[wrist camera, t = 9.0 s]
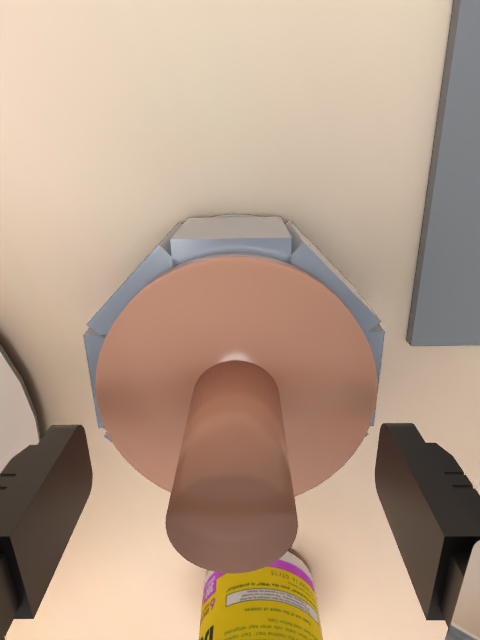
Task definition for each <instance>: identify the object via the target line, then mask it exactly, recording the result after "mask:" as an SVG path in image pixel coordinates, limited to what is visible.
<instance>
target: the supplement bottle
mask: <svg viewBox="0 0 480 640" xmlns="http://www.w3.org/2000/svg"><path fill="white" fill-rule="evenodd" d="M199 640H323V638H322V631H321V625H320V618H319V611H318V605H317V599H316V593H315V587H314V582H313V578H312V575H311V573H310V571H309V570H308V568H307V567H306V565H305V564H304V563H303V562H302V561H301V560H300V559H299V558H298V557H296V556H295V555H293V554H292V553H290V552H288V551H287V552H286V553H285V554H284V555H283V556H282V557H281V558H280V559H279V560H277V561H276V562H274V563H272V564H271V565H269V566H267V567H264V568H262V569H259V570H255V571H252V572H246V573H235V574H231V573H220V572H214V571H210V570H209V571H208V574H207V576H206V579H205V583H204V592H203V600H202V611H201V621H200V633H199Z"/></svg>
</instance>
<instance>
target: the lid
mask: <svg viewBox="0 0 480 640" xmlns="http://www.w3.org/2000/svg"><path fill="white" fill-rule="evenodd" d="M377 381H378V380H377V372H376V365H375V361H374V357H373V354H372V350H371V347H370V345H369V343H368V341H367V339H366V336H365V334H364V332H363V330H362V329H361V327H360V326H359V324H358V323H357V321H356V320H355V318H354V317H353V315H352V314H351V312H350V311H349V309H348V308H347V306H346V305H345V303H344V302H343V301H342V300H341V299H340V298H339V296H338V295H337V294H336V293H335V292H334V291H333V290H332V289H331V288H330V287H328V286H327V285H326V284H325V283H324V282H322V281H321V280H320V279H319V278H317V277H315V276H314V275H312V274H311V273H309V272H308V271H306V270H304V269H302V268H300V267H298V266H296V265H293V264H291V263H289V262H286V261H283V260H280V259H277V258H273V257H270V256H265V255H259V254H253V253H221V254H212V255H207V256H203V257H199V258H194V259H192V260H189V261H186V262H184V263H181V264H178V265H176V266H174V267H172V268H170V269H168V270H167V271H165V272H163V273H161V274H160V275H158V276H157V277H155V278H154V279H153V280H151V281H150V282H149V283H147V284H146V285H145V286H144V287H143V288H142V289H141V290H140V291H139V292H138V293H137V294H136V295H135V296H134V297H133V298H132V300H131V301H130V302H129V303H128V305H127V306H126V307H125V309H124V310H123V311H122V313H121V314H120V315H119V316H118V318H117V319H116V320H115V322H114V323H113V325H112V327H111V328H110V330H109V332H108V334H107V336H106V337H105V340H104V343H103V345H102V348H101V351H100V353H99V358H98V363H97V368H96V380H95V389H96V399H97V405H98V409H99V413H100V417H101V419H102V422H103V424H104V427H105V429H106V431H107V433H108V435H109V437H110V438H111V440H112V442H113V444H114V445H115V447H116V448H117V449H118V451H119V452H120V453H121V455H122V456H123V457H124V458H125V459H126V460H127V461H128V462H129V463H130V464H131V465H132V466H133V467H134V468H135V469H136V470H137V471H138V472H139V473H141V474H142V475H143V476H144V477H146V478H147V479H148V480H150V481H151V482H153V483H155V484H156V485H158V486H159V487H161V488H163V489H165V490H167V491H169V492H171V496H170V501H169V506H168V510H167V515H166V530H167V535H168V537H169V540H170V542H171V543H172V545H173V547H174V548H175V549H176V550H177V552H179V553H180V554H181V555H182V556H183V557H184V558H185V559H187V560H188V561H190V562H191V563H193V564H195V565H197V566H199V567H201V568H204V569H207V570H210V571H214V572H220V573H231V574H235V573H246V572H252V571H255V570H259V569H262V568H264V567H267V566H269V565H271V564H272V563H274V562H276V561H277V560H279V559H280V558H281V557H282V556H283V555H284V554H285V553H286V552H287V551H288V550H289V549H290V547H291V546H292V544H293V542H294V540H295V538H296V534H297V528H298V521H297V513H296V506H295V499H294V496H297V495H299V494H302V493H304V492H306V491H308V490H310V489H312V488H314V487H316V486H317V485H319V484H320V483H322V482H323V481H325V480H326V479H328V478H329V477H331V476H332V475H333V474H334V473H335V472H336V471H338V470H339V469H340V468H341V467H342V466H343V465H344V464H345V463H346V462H347V461H348V460H349V458H350V457H351V456H352V455H353V454H354V452H355V451H356V450H357V448H358V447H359V445H360V444H361V442H362V441H363V439H364V437H365V435H366V433H367V431H368V429H369V426H370V423H371V420H372V417H373V414H374V411H375V405H376V400H377Z"/></svg>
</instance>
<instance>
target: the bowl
mask: <svg viewBox="0 0 480 640" xmlns="http://www.w3.org/2000/svg"><path fill="white" fill-rule="evenodd" d="M221 253H253V254H259V255H265V256H270V257H273V258H277V259H280V260H283V261H286V262H289V263H291V264H293V265H296V266H298V267H300V268H302V269H304V270H306V271H308V272H309V273H311V274H312V275H314V276H315V277H317V278H319V279H320V280H321V281H322V282H324V283H325V284H326V285H327V286H328V287H330V288H331V289H332V290H333V291H334V292H335V293H336V294H337V295H338V296H339V298H340V299H341V300H342V301H343V302H344V303H345V305H346V306H347V308H348V309H349V311H350V312H351V314H352V315H353V317H354V318H355V320H356V321H357V323H358V324H359V326H360V327H361V329H362V330H363V332H364V334H365V336H366V339H367V341H368V343H369V345H370V347H371V350H372V354H373V357H374V361H375V365H376V372H377V380H378V381H377V392H378V384H379V375H380V367H381V358H382V350H383V341H384V333H385V332H384V330H383V329H382V328H381V326H380V325H379V324H378V323H379V322H381V320H380V319H379V318H378V317H377V315H376V314H375V313H374V312H373V310H372V309H371V308H370V307H369V305H368V304H367V303H366V302H365V300H364V299H363V298H362V297H361V295H360V294H359V293H358V292H357V291H356V289H355V288H354V287H353V286H352V284H351V283H350V282H349V281H348V280H347V279H346V278H345V277H344V276H343V275H342V274H341V273H340V272H339V271H338V269H337V268H336V267H335V266H334V265H333V264H332V263H331V262H330V261H329V260H328V259H327V258H326V257H325V256H324V255H323V254H322V253H321V251H320V250H319V249H318V248H317V247H316V246H315V245H314V244H313V243H312V242H311V241H309V240H308V239H307V238H306V237H305V236H304V235H303V234H302V233H301V232H300V231H299V229H298V228H297V227H296V226H295V225H294V224H293V223H292V222H291V221H290V220H289V221H288V222H287V223H286V224H284V223H283V221H282V219H281V217H280V216H275V217H261V216H255V215H250V214H225V215H217V216H212V217H208V218H188V219H187V220H186V221H185V222H184V224H183V225H182V224H181V223H180V222H179V223H178V224H177V225H176V226H175V227H174V228H173V229H172V230H171V231H170V232H169V234H168V235H167V236H166V237H165V238H164V239H163V240H162V241H161V242H160V243H159V244H158V246H157V247H156V248H155V249H154V250H153V251H152V252H151V253H150V254H149V255H148V257H147V258H146V259H145V260H144V261H143V262H142V263H141V264H140V265H139V267H138V268H137V269H136V270H135V271H134V272H133V273H132V274H131V275H130V277H129V278H128V279H127V280H126V281H125V282H124V283H123V284H122V285H121V287H120V288H119V289H118V290H117V291H116V292H115V293H114V294H113V295H112V297H111V298H110V299H109V300H108V301H107V302H106V303H105V304H104V305H103V306H102V308H101V309H100V310H99V311H98V312H97V313H96V314H95V315H94V316H93V318H92V319H91V320H90V321H89V322H88V323H87V324H86V325H87V326H89V327H90V328H89V329H88V330H87V331H86V332H85V334H84V335H83V337H84V343H85V349H86V355H87V361H88V367H89V373H90V379H91V385H92V391H93V397H94V403H95V409H96V415H97V421H98V427H99V428H105V427H104V424H103V422H102V419H101V417H100V413H99V409H98V405H97V399H96V389H95V380H96V368H97V363H98V358H99V353H100V351H101V348H102V345H103V343H104V340H105V337H106V336H107V334H108V332H109V330H110V328H111V327H112V325H113V323H114V322H115V320H116V319H117V318H118V316H119V315H120V314H121V313H122V311H123V310H124V309H125V307H126V306H127V305H128V303H129V302H130V301H131V300H132V298H133V297H134V296H135V295H136V294H137V293H138V292H139V291H140V290H141V289H142V288H143V287H144V286H145V285H146V284H147V283H149V282H150V281H151V280H153V279H154V278H155V277H157V276H158V275H160V274H161V273H163V272H165V271H167V270H168V269H170V268H172V267H174V266H176V265H178V264H181V263H184V262H186V261H189V260H192V259H194V258H199V257H203V256H207V255H212V254H221ZM376 401H377V400H376ZM375 409H376V405H375ZM374 418H375V411H374V414H373V417H372V420H371V423H370V426H374ZM367 435H368V433H366V435H365V437H366V436H367ZM104 437H106V438H107V439H108V440H110V441H111V442H112V440H111V438H110V437H109V435H108V433H107V432H106V434H105V436H104Z"/></svg>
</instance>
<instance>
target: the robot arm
mask: <svg viewBox="0 0 480 640" xmlns="http://www.w3.org/2000/svg"><path fill="white" fill-rule="evenodd" d="M375 483H376V489H377V493H378V496H379V499H380V501H381V504H382V507H383V509H384V512H385V514H386V517H387V520H388V522H389V525H390V527H391V530H392V532H393V535H394V538H395V540H396V543H397V545H398V548H399V550H400V553H401V556H402V558H403V561H404V563H405V566H406V568H407V571H408V574H409V576H410V579H411V581H412V584H413V587H414V589H415V592H416V594H417V597H418V599H419V602H420V605H421V607H422V610H423V612H424V615H425V617H426V620H445V621H446V624H447V626H448V628H449V629H448V631H447V635H446V638H445V640H480V495H479V494H478V492H477V491H476V489H473V485H472V484H471V482H470V481H469V479H468V478H467V476H466V475H464V472H463V470H462V469H461V467H460V466H459V465H458V463H457V462H456V460H455V459H454V457H453V456H452V455H451V454H449V453H448V452H447V451H445V450H444V449H443V448H442V447H440V446H439V445H438V444H436V443H425V441H424V439H423V438H422V436H421V435H420V433H419V431H418V430H417V428H416V427H415V425H414V424H412V423H383V424H382V425H381V428H380V434H379V442H378V450H377V458H376V466H375ZM91 487H92V467H91V462H90V456H89V450H88V445H87V439H86V434H85V430H84V427H83V426H82V425H52V426H51V427H50V428H49V429H48V430H47V432H46V433H45V434H44V436H43V437H42V439H41V440H40V442H39V443H38V444H37V445H29V446H28V447H26V448H25V449H23V450H22V451H21V452H19V453H18V454H17V455H15V456H14V457H13V458H12V459H11V460H10V461H9V463H8V464H7V465H6V466H5V468H4V469H3V470H2V472H1V473H0V640H7V639H6V636H5V635H6V633H7V631H8V629H9V627H10V625H11V623H12V621H13V619H34V617H35V615H36V612H37V610H38V608H39V606H40V604H41V601H42V599H43V597H44V595H45V593H46V590H47V588H48V586H49V584H50V581H51V579H52V577H53V575H54V573H55V570H56V568H57V566H58V564H59V561H60V559H61V557H62V555H63V553H64V550H65V548H66V546H67V544H68V541H69V539H70V537H71V535H72V533H73V530H74V528H75V526H76V524H77V522H78V519H79V517H80V515H81V513H82V510H83V508H84V506H85V504H86V502H87V499H88V497H89V495H90V491H91Z"/></svg>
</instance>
